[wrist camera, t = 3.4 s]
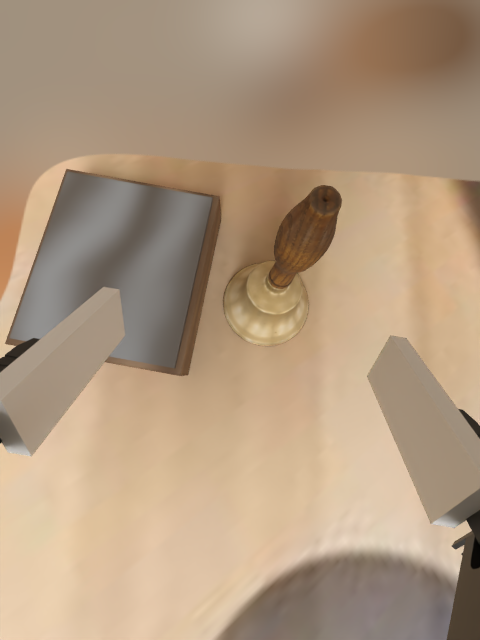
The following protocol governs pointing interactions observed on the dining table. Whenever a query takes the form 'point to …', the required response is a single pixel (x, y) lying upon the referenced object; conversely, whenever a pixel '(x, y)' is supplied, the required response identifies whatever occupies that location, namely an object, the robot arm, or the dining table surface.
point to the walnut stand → (125, 265)
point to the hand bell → (283, 273)
